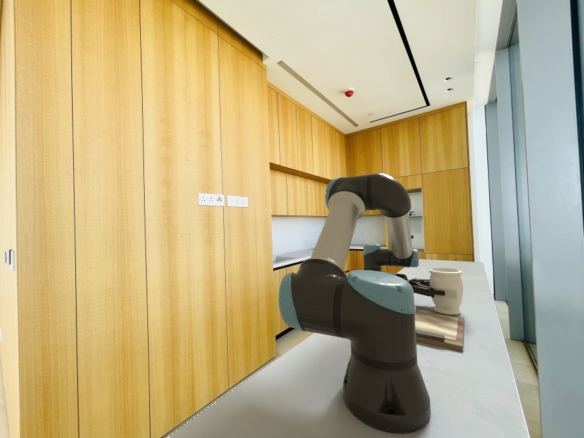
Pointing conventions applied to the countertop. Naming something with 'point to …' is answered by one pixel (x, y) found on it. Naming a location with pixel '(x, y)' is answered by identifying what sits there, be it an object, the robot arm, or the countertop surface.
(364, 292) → the robot arm
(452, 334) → the clipboard
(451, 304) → the jar
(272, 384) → the countertop surface
